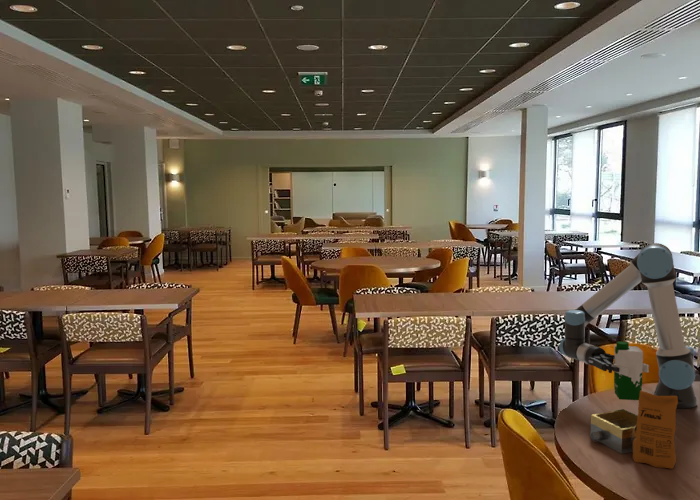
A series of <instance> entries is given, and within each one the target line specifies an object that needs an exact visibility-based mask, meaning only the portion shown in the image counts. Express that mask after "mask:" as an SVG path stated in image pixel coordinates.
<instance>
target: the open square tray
mask: <svg viewBox="0 0 700 500" xmlns="http://www.w3.org/2000/svg"><path fill="white" fill-rule="evenodd" d="M637 417H638V414H635V413H633V412H630V411H629V410H626V409H623V408H622V409H617V410H611V411H605V412H599V413H593V414H591V415H590V439H591V441H593V442H598V443H600V444H603V445H604V446H606V447H608V448H609V449H612V450H613V451H616V452H617V453H619V454H621V455H623V454H627V453H631V452H632V453H633V434H634V430H635V427H636V424H637Z"/></svg>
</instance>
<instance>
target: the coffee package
mask: <svg viewBox="0 0 700 500" xmlns="http://www.w3.org/2000/svg"><path fill="white" fill-rule="evenodd" d="M677 404H678V397H677V396H657V395H654V393H649V392H648V391H643V390H642V391H641V390H640V396H639V400H638V409H637V410H638V413H637V416H638V417H637V424H636V427H635V430H634V434H633V452H632V459H633V462H635V463H638V464H647V465H648V466H649V465H650V466H651V467H655V468H660V469H674V467H675V465H676V462H677V453H676V446H675V434H676V430H677V422H676V411H677V409H678V408H677Z"/></svg>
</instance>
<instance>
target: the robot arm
mask: <svg viewBox="0 0 700 500" xmlns="http://www.w3.org/2000/svg"><path fill="white" fill-rule="evenodd" d="M629 264H630V265H628V266H627V267H625V269H623V270H622V271H621V272H620V273H619V274H617V275H616V276H615V277H613V278H612V279H611V280H610V281H608V283H606V284H605V285H604V286H602V288H600V289H599V290H598V291H597V292H595V293H594V294H593V295H591V296H590V297H589V298H588V299H587V300H586V301H584V302H583V303H581V305H580V306H578V307H577V308H576V309H569V310H566V311H565V313H564V338H562V339H561V340H560V343H559V346H558V347H559V348H558V350H559V351H560V353H561V354H562V355H564V356H565V357H568V358H570V359H574V360H577V361H578V362H582V363H585V365H590V366H593V367H596V368H597V369H599V370H601V371H603V372H608V373H609V374H612V373H614V372H616V373H619V374H622V375H625V376H628V368H626V367H623V366H620V365H617V364H614V362H615V354H610V353H607V352H606V351H605V349H603V348H602V347H601V346H600V347H599V346H596V345H593V344H590V343H587V342H585V341H586V338H585V336H586V330H585V329H586V327H587V325H589V324H590V323H591V322H592V321H594V320H595V319H596V318H597V317H598V316H599V315H601V314H602V313H604V312H605V311H606V310H607V309H608V308H610V307H611V306H612V305H613V304H615V303H616V302H617V301H619V300H620V299H621V298H622V297H624V296H625V295H626V294H627V293H628V292H630V291H631V290H633V289H634V288H635V287H636V286H638V285H639V284H640V283H641V284H643V285H644V286H646V288H647V292H648V293H647V294H648V297H649V302H650V306H651V308H650V309H651V313H652V318H653V322H654V327H655V333H656V338H657V341H658V349H657V350H656V352H655V355H656V360H657V366H658V377H659V378H658V383H657V385H656V387H655V390H654V392H653V395H657V396H677V397H678V404H677V408H676V409H693V408H695V407H696V406H697V402H698V401H697V397H696V395H695V390H694V387H693V383H694V382H695V379H696V371H695V366H694V364H695V363H694V356H695V351H694V348H693V347H692V346H687V345H686V344H685V339H684V335H683V330H682V325H681V319H680V314H679V309H678V304H677V299H676V294H675V289H674V282H675V281H676V280H677V276H676V275H677V274H676V270H675V264H674V258H673V254H672V251H671V250H670V248H669V247H667V246H666V245H665V244H663V243H657V242H655V243H654V242H652V243H650V244H647V245H645V246H644V247H643V248H642V249H641V250H640V252H639V253H638V254H637V255H635V257H634V258H633V259H632V260H630V263H629ZM649 368H650V365H649V364H646V363H643V373H645V374H646V373H648V374H649Z"/></svg>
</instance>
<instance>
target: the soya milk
mask: <svg viewBox="0 0 700 500" xmlns="http://www.w3.org/2000/svg"><path fill="white" fill-rule="evenodd" d="M629 344H630V343H629V342H628V341H623V340H622V341H616V345H614V355H615V362H613V363H614V364H617V365H620V366H623V367H626V368H628V376H625V375H622V374H619V373H616V372H614V371H613V385H614V386H613V387H614V394H615V395H616V397H617V398H618V400H623V401H624V400H627V401H639V396H640V390H641V391H643V389H642V388H643V374H644V372H643V362H644V351H643V350H642V349H641V348H639V346H631V345H629Z"/></svg>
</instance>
